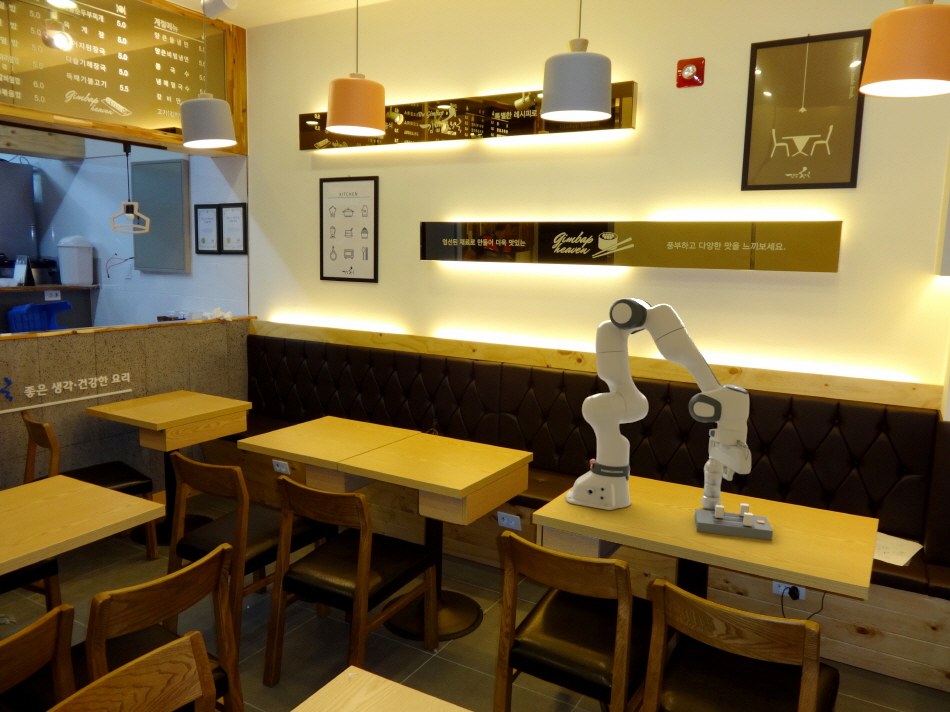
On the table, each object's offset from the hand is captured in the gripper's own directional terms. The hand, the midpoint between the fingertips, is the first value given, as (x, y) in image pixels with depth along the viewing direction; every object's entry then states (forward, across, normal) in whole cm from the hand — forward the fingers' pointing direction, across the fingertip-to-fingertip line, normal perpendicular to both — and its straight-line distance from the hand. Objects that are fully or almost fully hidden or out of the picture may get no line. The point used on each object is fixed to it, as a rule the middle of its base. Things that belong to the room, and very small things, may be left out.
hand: (727, 479), depth 222 cm
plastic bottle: (+16, +17, -4) cm, 24 cm away
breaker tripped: (+13, 0, +1) cm, 13 cm away
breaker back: (+13, +1, -8) cm, 15 cm away
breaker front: (+12, -7, -4) cm, 15 cm away
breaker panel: (+16, -1, -2) cm, 16 cm away
